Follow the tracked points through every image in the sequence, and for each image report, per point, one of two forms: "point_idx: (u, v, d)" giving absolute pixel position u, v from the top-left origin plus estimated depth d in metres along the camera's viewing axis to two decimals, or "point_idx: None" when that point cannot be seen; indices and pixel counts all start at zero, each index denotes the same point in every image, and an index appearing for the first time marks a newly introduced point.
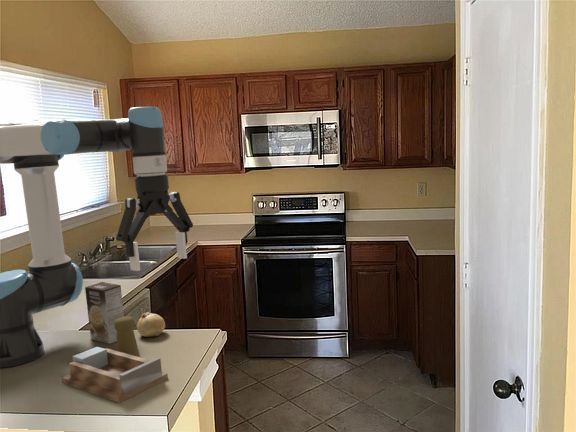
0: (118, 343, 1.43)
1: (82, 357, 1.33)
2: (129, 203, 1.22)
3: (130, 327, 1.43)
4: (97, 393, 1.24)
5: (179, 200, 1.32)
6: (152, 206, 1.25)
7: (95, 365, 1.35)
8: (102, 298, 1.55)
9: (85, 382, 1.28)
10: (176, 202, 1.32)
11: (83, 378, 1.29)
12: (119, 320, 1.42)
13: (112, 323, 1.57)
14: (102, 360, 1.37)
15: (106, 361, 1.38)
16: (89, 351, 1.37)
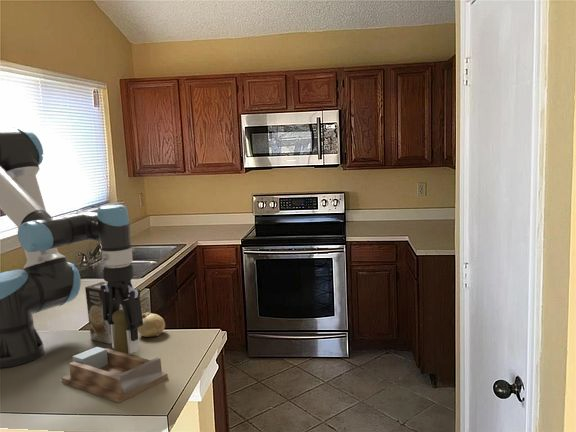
0: (116, 336, 1.43)
1: (82, 357, 1.33)
2: None
3: None
4: (97, 393, 1.24)
5: (131, 299, 1.39)
6: (110, 292, 1.43)
7: (95, 365, 1.35)
8: None
9: (85, 382, 1.28)
10: None
11: (83, 378, 1.29)
12: (117, 313, 1.42)
13: None
14: (102, 360, 1.37)
15: (106, 361, 1.38)
16: (89, 351, 1.37)
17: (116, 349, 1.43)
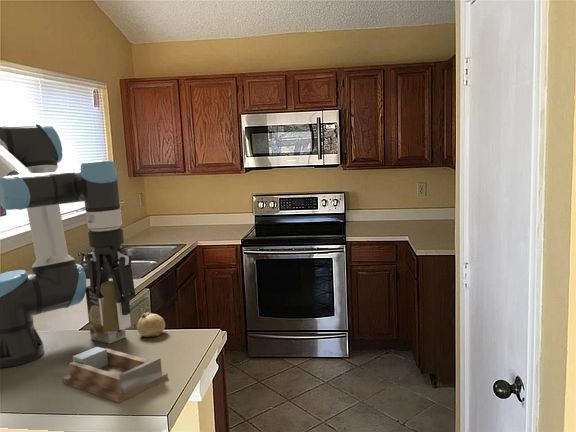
0: (105, 310, 1.25)
1: (82, 357, 1.33)
2: None
3: None
4: (97, 393, 1.24)
5: (121, 266, 1.21)
6: (97, 261, 1.25)
7: (95, 365, 1.35)
8: None
9: (85, 382, 1.28)
10: None
11: (83, 378, 1.29)
12: (106, 284, 1.25)
13: None
14: (102, 360, 1.37)
15: (106, 361, 1.38)
16: (89, 351, 1.37)
17: (105, 325, 1.25)
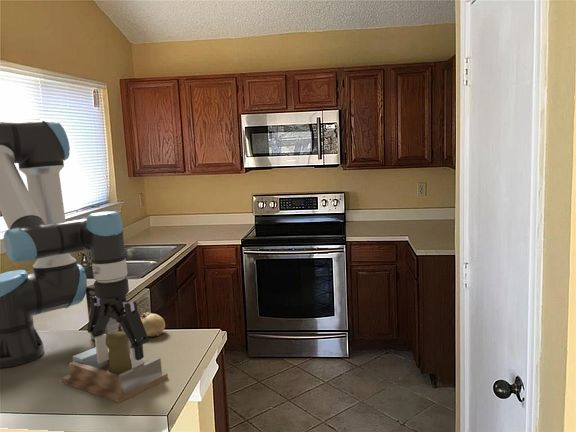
0: (110, 362, 1.27)
1: (82, 357, 1.33)
2: None
3: (124, 344, 1.27)
4: (97, 393, 1.24)
5: (127, 312, 1.22)
6: (102, 309, 1.27)
7: (95, 365, 1.35)
8: None
9: (85, 382, 1.28)
10: None
11: (83, 378, 1.29)
12: (111, 336, 1.26)
13: (112, 323, 1.57)
14: None
15: (106, 361, 1.38)
16: (89, 351, 1.37)
17: None
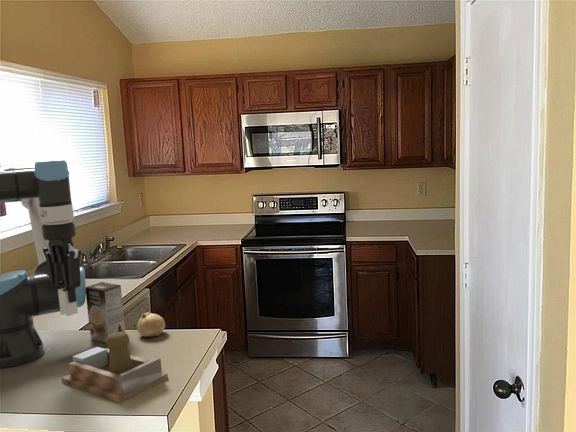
0: (110, 362, 1.27)
1: (82, 357, 1.33)
2: None
3: (124, 344, 1.27)
4: (97, 393, 1.24)
5: (70, 259, 1.33)
6: (51, 252, 1.36)
7: (95, 365, 1.35)
8: (102, 298, 1.55)
9: (85, 382, 1.28)
10: None
11: (83, 378, 1.29)
12: (112, 337, 1.26)
13: (112, 323, 1.57)
14: (102, 360, 1.37)
15: (106, 361, 1.38)
16: (89, 351, 1.37)
17: None
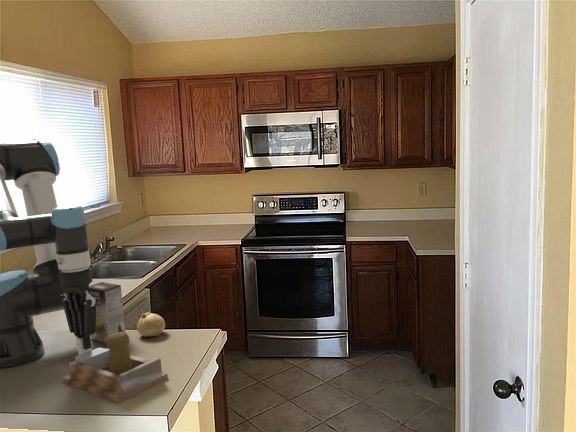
0: (111, 362, 1.27)
1: (84, 358, 1.32)
2: None
3: (124, 344, 1.27)
4: (97, 393, 1.24)
5: (87, 307, 1.31)
6: (68, 299, 1.34)
7: (98, 366, 1.34)
8: (102, 298, 1.55)
9: (85, 382, 1.28)
10: None
11: (83, 378, 1.29)
12: (112, 337, 1.26)
13: (112, 323, 1.57)
14: (105, 360, 1.36)
15: None
16: (91, 352, 1.36)
17: None
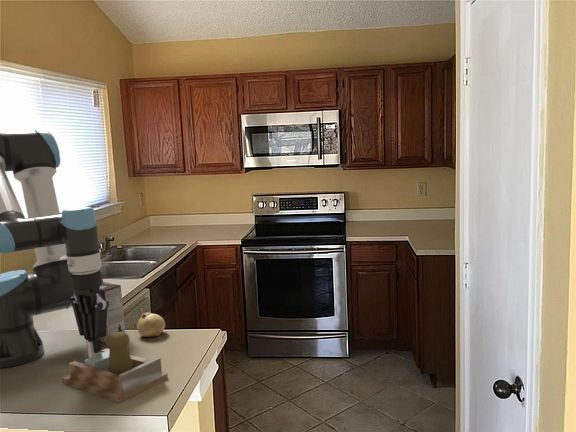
0: (111, 362, 1.27)
1: (94, 361, 1.30)
2: None
3: (124, 344, 1.27)
4: (97, 393, 1.24)
5: (97, 310, 1.29)
6: (78, 302, 1.32)
7: (107, 369, 1.32)
8: (102, 298, 1.55)
9: (85, 382, 1.28)
10: None
11: (83, 378, 1.29)
12: (112, 337, 1.26)
13: (112, 323, 1.57)
14: None
15: None
16: (101, 355, 1.34)
17: None
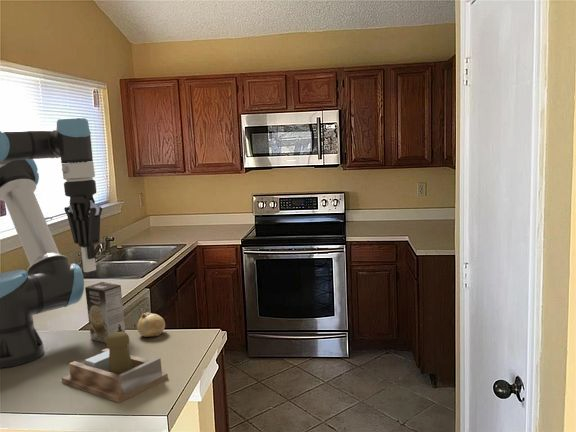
0: (111, 362, 1.27)
1: (94, 361, 1.30)
2: None
3: (124, 344, 1.27)
4: (97, 393, 1.24)
5: (91, 215, 1.35)
6: (73, 209, 1.38)
7: (108, 369, 1.32)
8: (102, 298, 1.55)
9: (85, 382, 1.28)
10: None
11: (83, 378, 1.29)
12: (112, 337, 1.26)
13: (112, 323, 1.57)
14: None
15: None
16: (101, 355, 1.34)
17: None
